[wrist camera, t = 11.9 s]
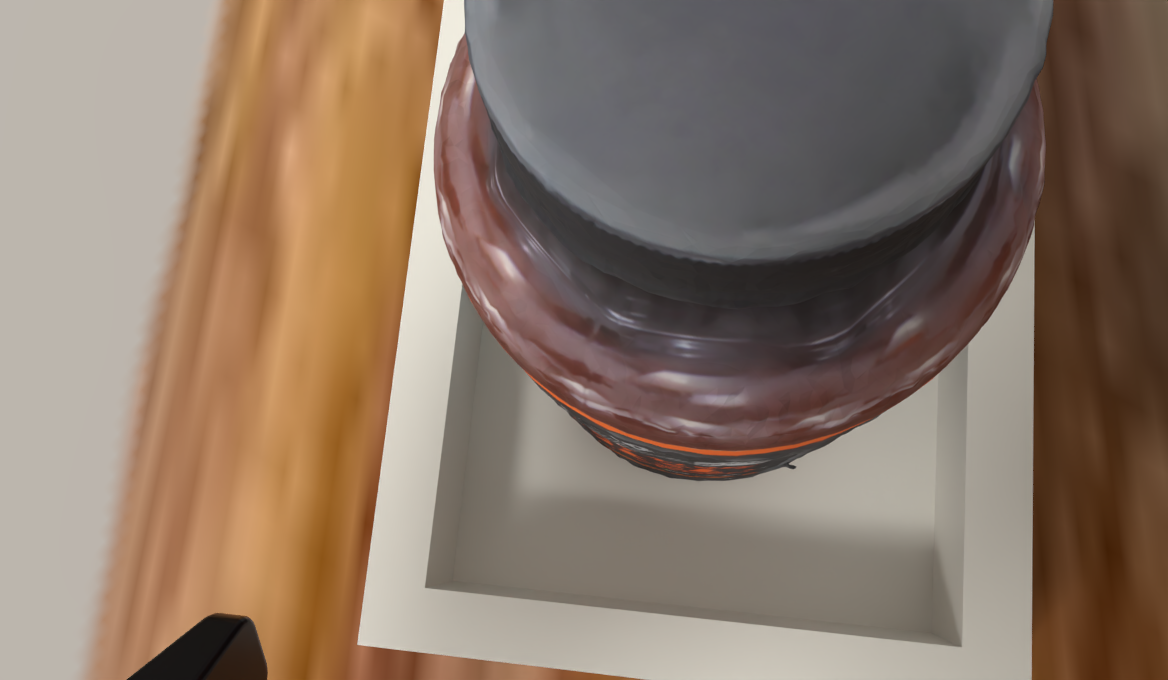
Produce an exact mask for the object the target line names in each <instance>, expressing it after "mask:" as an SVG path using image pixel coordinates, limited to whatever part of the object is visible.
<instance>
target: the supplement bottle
mask: <svg viewBox="0 0 1168 680" xmlns="http://www.w3.org/2000/svg"><path fill="white" fill-rule="evenodd" d="M464 14H465V33H464V35H463V37H462V38H461V39H460V41H459V42H458V44H457V48H456V52H455V55H454V57H453V59H452V61H451V63H450V66H449V70H448V74H447V77H446V81H445V84H444V86H443V89H442V92H441V98H440V105H439V111H438V117H437V122H436V127H435V135H434V180H435V190H436V199H437V208H438V215H439V219H440V223H441V228H442V235H443V239H444V242H445V245H446V248H447V250H448V253H449V256H450V259H451V260H452V262H453V264H454V266H455V269H456V272H457V275H458V277H459V278H460V280H461V282H462V284H463V286H464V288H465V290H466V292H467V294H468V296H469V298H470V300H471V302H472V304H473V305H474V307H475V309H476V310H477V312H478V314H479V315H480V317H481V319H482V320H483V322H484V323H485V325H486V326H487V328H488V329H489V331H490V332H491V334H492V335H493V336H494V337H495V339H496V340H497V341H498V342H499V344H500V345H501V346H502V347H503V349H504V350H505V351H506V352H507V353H508V354H509V355H510V356H511V357H512V359H513V360H514V361H515V362H516V363H517V364H518V365H519V366H520V367H521V368H522V369H523V370H524V371H525V372H526V373H527V374H528V375H529V377H530V378H531V379H532V380H533V381H534V382H535V383H536V384H537V386H538V387H539V388H540V389H541V390H542V391H543V392H545V393H546V394H547V395H548V396H549V397H550V398H552V399H553V400H554V401H555V402H556V404H557V405H558V406H560V407H561V408H563V409H564V410H566V411H567V412H568V414H569V415H570V416H571V417H572V418H573V419H574V420H576V421H577V422H578V423H579V424H580V425H581V426H582V428H583V429H584V430H585V431H587V432H588V433H589V434H590V435H592V436H593V437H594V438H595V439H596V440H597V441H598V442H599V443H600V444H602V445H603V446H604V447H606V448H608V449H610V450H611V451H612V452H613V453H615V454H616V455H617V456H618V457H619V458H622V459H625V460H626V461H628V462H629V463H630V464H632V465H633V466H635V467H638V468H641V469H645V470H648V471H650V472H653V473H657V474H661V475H663V476H666V477H668V478H676V479H686V480H694V481H728V480H736V479H743V478H750V477H754V476H756V475H759V474H762V473H766V472H769V471H773V470H776V469H779V468H782V467H787V468H789V469H795V468H796V466H794V465H790V464H789V463H791V462H792V461H794V460H796V459H798V458H801V457H803V456H804V455H806V454H807V453H810V452H812V451H815V450H817V449H820V448H822V447H824V446H826V445H828V444H830V443H831V442H833V441H834V440H836V439H837V438H839V437H840V436H842V435H844V434H847V433H848V432H850V431H852V430H853V429H855V428H857V427H859V426H862V425H864V424H866V423H868V422H870V421H872V420H874V419H876V418H877V417H879V416H880V415H881V414H882V413H884V412H885V411H887V410H889V409H890V408H892V407H893V406H895V405H897V404H898V403H900V402H901V401H903V400H905V399H906V398H908V397H909V396H911V395H912V394H913V393H915V392H916V391H917V390H919V389H920V388H921V387H923V386H924V385H925V384H927V383H928V382H929V381H931V380H932V379H933V378H934V377H935V376H936V375H937V374H938V373H940V372H941V371H942V370H943V369H944V368H945V367H946V366H947V365H948V364H949V363H950V362H951V361H952V360H953V359H954V358H955V357H956V356H957V355H958V354H959V353H960V352H961V351H962V350H963V349H964V348H965V347H966V346H967V345H968V344H969V342H970V341H971V340H972V339H973V338H974V337H975V335H976V334H977V333H978V332H979V331H980V329H981V328H982V327H983V326H984V324H985V323H986V322H987V321H988V320H989V318H990V317H991V315H992V314H993V312H994V311H995V309H996V308H997V306H998V304H999V303H1000V301H1001V299H1002V297H1003V296H1004V294H1005V293H1006V291H1007V290H1008V288H1009V286H1010V284H1011V282H1012V280H1013V278H1014V276H1015V274H1016V272H1017V270H1018V268H1019V265H1020V263H1021V261H1022V258H1023V255H1024V253H1025V250H1026V248H1027V245H1028V243H1029V240H1030V238H1031V234H1032V231H1033V227H1034V221H1035V215H1036V212H1037V209H1038V206H1039V203H1040V199H1041V195H1042V191H1043V187H1044V183H1045V174H1044V169H1045V154H1046V141H1045V130H1044V114H1043V108H1042V103H1041V98H1040V91H1039V86H1038V82H1037V76H1038V75H1039V73H1040V71H1041V70H1042V68H1043V65H1044V61H1045V57H1046V43H1047V39H1048V34H1049V30H1050V26H1051V21H1052V17H1053V0H464Z"/></svg>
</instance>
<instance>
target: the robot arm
mask: <svg viewBox="0 0 1168 680" xmlns="http://www.w3.org/2000/svg"><path fill="white" fill-rule="evenodd" d="M267 674H268V672H267V663H266V660H265V656H264V653H263V650H262V647H261V644H260V640H259V637H258V634H257V631H256V627H255V625H254V622H253V621H252V620H251V619H250V618H249V617H247V616H240V615H232V614H224V613H215V614H212V615H210V616H208V617H206V618H204V619H203V620H201V621H200V622H199V623H198V624H196V625H195V626H194V627H193V628H191V629H190V630H189V631H188V632H186V633H185V634H184V635H182V636H181V637H180V638H179V639H177V640H176V641H175V642H174V643H172V644H171V645H170V646H169V647H167V648H166V649H165V650H164V651H162V652H161V653H160V654H158V655H157V656H156V657H155V658H153V659H152V660H151V661H150V662H148V663H147V664H146V665H145V666H143V667H142V668H141V669H139V670H138V671H137V672H136V673H134V674H133V675H132V676H131V677H129V678H128V679H127V680H267Z"/></svg>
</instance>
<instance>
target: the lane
mask: <svg viewBox="0 0 1168 680" xmlns="http://www.w3.org/2000/svg"><path fill="white" fill-rule="evenodd" d="M464 33H465V14H464V0H444V5H443V13H442V20H441V28H440V35H439V42H438V50H437V57H436V65H435V72H434V79H433V87H432V94H431V102H430V109H429V117H428V124H427V131H426V139H425V146H424V154H423V161H422V169H421V176H420V183H419V191H418V198H417V206H416V213H415V220H414V228H413V235H412V243H411V250H410V258H409V265H408V272H407V280H406V287H405V295H404V302H403V310H402V317H401V324H400V332H399V339H398V347H397V354H396V362H395V369H394V376H393V384H392V391H391V399H390V406H389V413H388V421H387V428H386V436H385V443H384V451H383V458H382V465H381V473H380V480H379V488H378V495H377V503H376V510H375V517H374V525H373V532H372V540H371V547H370V554H369V562H368V569H367V577H366V584H365V592H364V599H363V606H362V614H361V621H360V629H359V636H358V644H357V645H363V646H372V647H380V648H388V649H397V650H405V651H413V652H422V653H430V654H438V655H447V656H455V657H463V658H472V659H480V660H488V661H497V662H505V663H513V664H522V665H530V666H539V667H547V668H555V669H564V670H572V671H580V672H589V673H597V674H605V675H614V676H622V677H630V678H639V679H647V680H1032V542H1033V396H1034V249H1035V221H1034V227H1033V231H1032V234H1031V238H1030V240H1029V243H1028V245H1027V248H1026V250H1025V253H1024V255H1023V258H1022V261H1021V263H1020V265H1019V268H1018V270H1017V272H1016V274H1015V276H1014V278H1013V280H1012V282H1011V284H1010V286H1009V288H1008V290H1007V291H1006V293H1005V294H1004V296H1003V297H1002V299H1001V301H1000V303H999V304H998V306H997V308H996V309H995V311H994V312H993V314H992V315H991V317H990V318H989V320H988V321H987V322H986V323H985V324H984V326H983V327H982V328H981V329H980V331H979V332H978V333H977V334H976V335H975V337H974V338H973V339H972V340H971V341H970V342H969V344H968V345H967V346H966V347H965V348H964V349H963V350H962V351H961V352H960V353H959V354H958V355H957V356H956V357H955V358H954V359H953V360H952V361H951V362H950V363H949V364H948V365H947V366H946V367H945V368H944V369H943V370H942V371H941V372H940V373H938V374H937V375H936V376H935V377H934V378H933V379H932V380H931V381H929V382H928V383H927V384H925V385H924V386H923V387H921V388H920V389H919V390H917V391H916V392H915V393H913V394H912V395H911V396H909V397H908V398H906V399H905V400H903V401H901V402H900V403H898V404H897V405H895V406H893V407H892V408H890V409H889V410H887V411H885V412H884V413H882V414H881V415H880V416H879V417H877V418H876V419H874V420H872V421H870V422H868V423H866V424H864V425H862V426H859V427H857V428H855V429H853V430H852V431H850V432H848V433H847V434H844V435H842V436H840V437H839V438H837V439H836V440H834V441H833V442H831V443H830V444H828V445H826V446H824V447H822V448H820V449H817V450H815V451H812V452H810V453H807V454H806V455H804V456H803V457H801V458H798V459H796V460H794V461H792V462H791V463H789V464H790V465H794V466H796V468H795V469H789V468H787V467H782V468H779V469H776V470H773V471H769V472H766V473H762V474H759V475H756V476H754V477H750V478H743V479H736V480H728V481H694V480H686V479H676V478H668V477H666V476H663V475H661V474H657V473H653V472H650V471H648V470H645V469H641V468H638V467H635V466H633V465H632V464H630V463H629V462H628V461H626V460H625V459H622V458H619V457H618V456H617V455H616V454H615V453H613V452H612V451H611V450H610V449H608V448H606V447H604V446H603V445H602V444H600V443H599V442H598V441H597V440H596V439H595V438H594V437H593V436H592V435H590V434H589V433H588V432H587V431H585V430H584V429H583V428H582V426H581V425H580V424H579V423H578V422H577V421H576V420H574V419H573V418H572V417H571V416H570V415H569V414H568V412H567V411H566V410H564V409H563V408H561V407H560V406H558V405H557V404H556V402H555V401H554V400H553V399H552V398H550V397H549V396H548V395H547V394H546V393H545V392H543V391H542V390H541V389H540V388H539V387H538V386H537V384H536V383H535V382H534V381H533V380H532V379H531V378H530V377H529V375H528V374H527V373H526V372H525V371H524V370H523V369H522V368H521V367H520V366H519V365H518V364H517V363H516V362H515V361H514V360H513V359H512V357H511V356H510V355H509V354H508V353H507V352H506V351H505V350H504V349H503V347H502V346H501V345H500V344H499V342H498V341H497V340H496V339H495V337H494V336H493V335H492V334H491V332H490V331H489V329H488V328H487V326H486V325H485V323H484V322H483V320H482V319H481V317H480V315H479V314H478V312H477V310H476V309H475V307H474V305H473V304H472V302H471V300H470V298H469V296H468V294H467V292H466V290H465V288H464V286H463V284H462V282H461V280H460V278H459V277H458V275H457V272H456V269H455V266H454V264H453V262H452V260H451V259H450V256H449V253H448V250H447V248H446V245H445V242H444V239H443V235H442V228H441V223H440V219H439V215H438V208H437V199H436V190H435V180H434V135H435V127H436V122H437V117H438V111H439V105H440V98H441V92H442V89H443V86H444V84H445V81H446V77H447V74H448V70H449V66H450V63H451V61H452V59H453V57H454V55H455V52H456V48H457V44H458V42H459V41H460V39H461V38H462V37H463V35H464Z"/></svg>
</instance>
